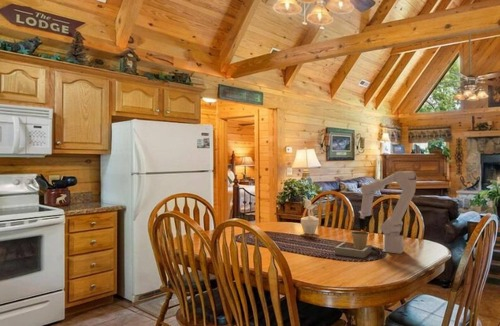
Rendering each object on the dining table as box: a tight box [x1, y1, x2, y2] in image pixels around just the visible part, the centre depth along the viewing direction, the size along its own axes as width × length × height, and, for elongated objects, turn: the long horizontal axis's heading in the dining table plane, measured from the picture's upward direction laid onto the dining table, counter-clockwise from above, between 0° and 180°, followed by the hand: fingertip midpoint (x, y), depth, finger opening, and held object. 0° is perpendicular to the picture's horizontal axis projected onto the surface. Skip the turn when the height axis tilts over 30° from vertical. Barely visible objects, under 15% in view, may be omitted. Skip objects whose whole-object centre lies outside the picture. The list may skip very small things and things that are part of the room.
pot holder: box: [334, 241, 372, 259], centre depth 196 cm, size 15×14×4 cm
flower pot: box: [350, 230, 370, 250], centre depth 206 cm, size 9×9×9 cm
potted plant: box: [300, 197, 320, 235], centre depth 246 cm, size 13×12×25 cm
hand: (363, 228), depth 216 cm, fingers open, 7 cm apart
